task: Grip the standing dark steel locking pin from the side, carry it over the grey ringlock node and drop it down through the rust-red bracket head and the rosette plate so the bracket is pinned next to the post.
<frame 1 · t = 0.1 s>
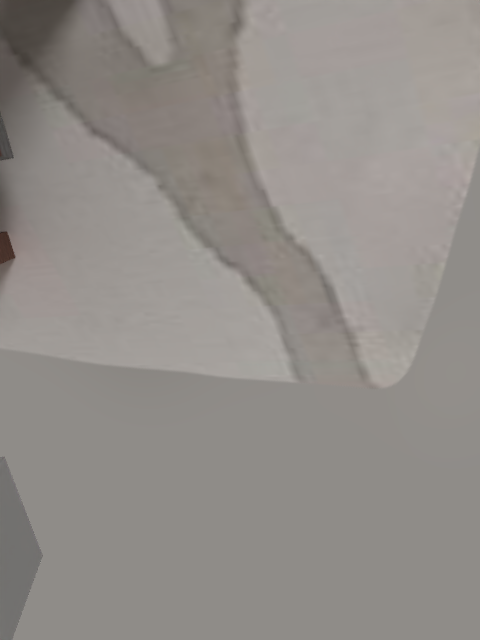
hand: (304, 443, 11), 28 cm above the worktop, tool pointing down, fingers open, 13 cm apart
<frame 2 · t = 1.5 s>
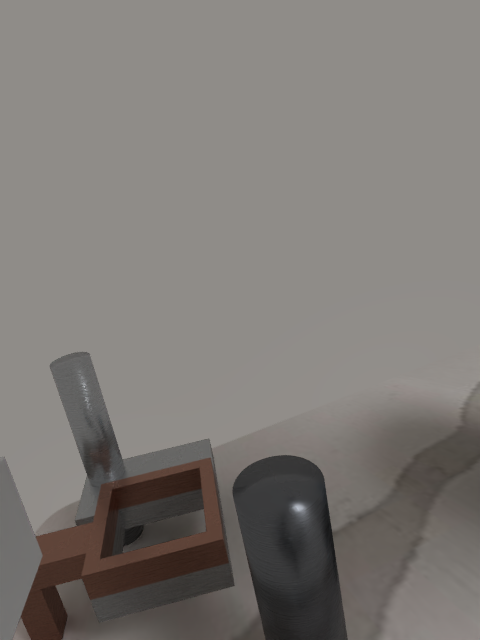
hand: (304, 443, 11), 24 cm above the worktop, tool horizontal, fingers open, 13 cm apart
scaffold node: (180, 595, 36), on the worktop
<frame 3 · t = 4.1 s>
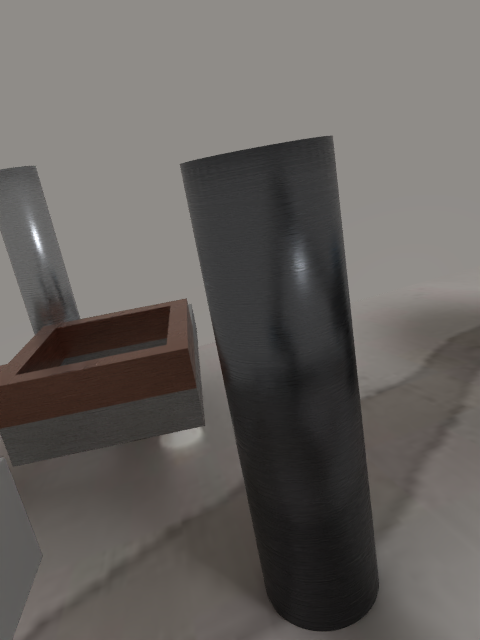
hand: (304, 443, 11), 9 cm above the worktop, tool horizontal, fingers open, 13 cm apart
pin: (320, 577, 18), on the worktop
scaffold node: (141, 468, 27), on the worktop
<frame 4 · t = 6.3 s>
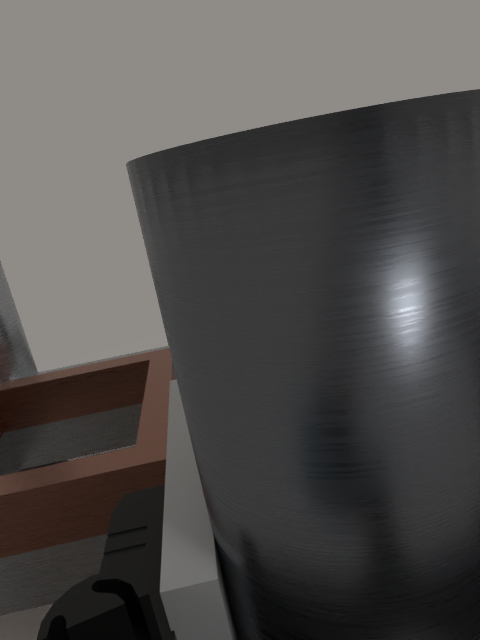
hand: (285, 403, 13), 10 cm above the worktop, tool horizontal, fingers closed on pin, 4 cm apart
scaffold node: (108, 590, 19), on the worktop
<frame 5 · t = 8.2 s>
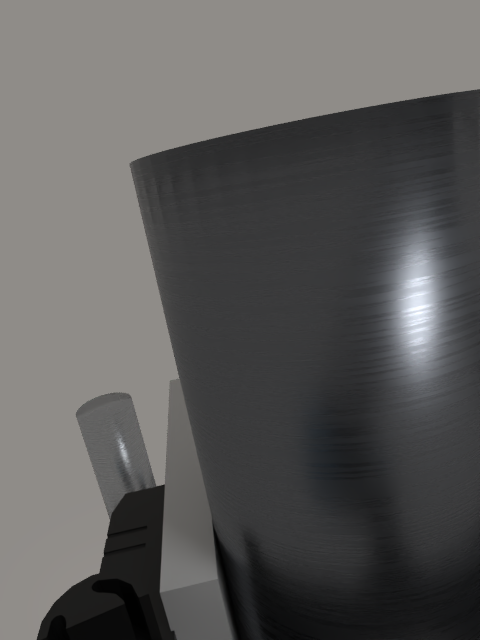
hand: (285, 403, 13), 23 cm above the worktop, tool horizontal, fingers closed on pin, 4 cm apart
when the fingers open (19 cm above the worktop, at t = 10.4 s): pin drops 10 cm, on the worktop.
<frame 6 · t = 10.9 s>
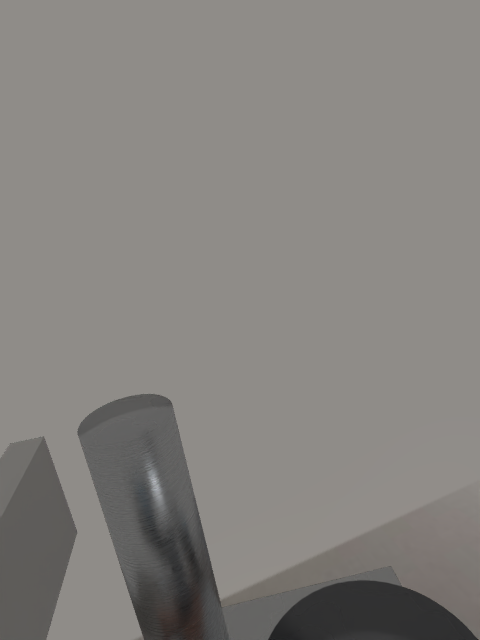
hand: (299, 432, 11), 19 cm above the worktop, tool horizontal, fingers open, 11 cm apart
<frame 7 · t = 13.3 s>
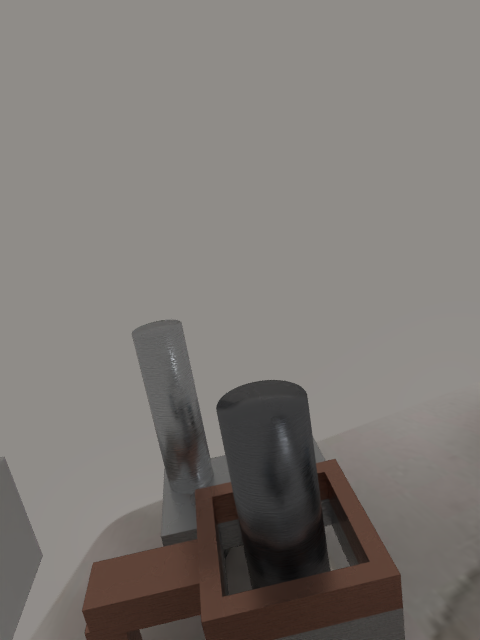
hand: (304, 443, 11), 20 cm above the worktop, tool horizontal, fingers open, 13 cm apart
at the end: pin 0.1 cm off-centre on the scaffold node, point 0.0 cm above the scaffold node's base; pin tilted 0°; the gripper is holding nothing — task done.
